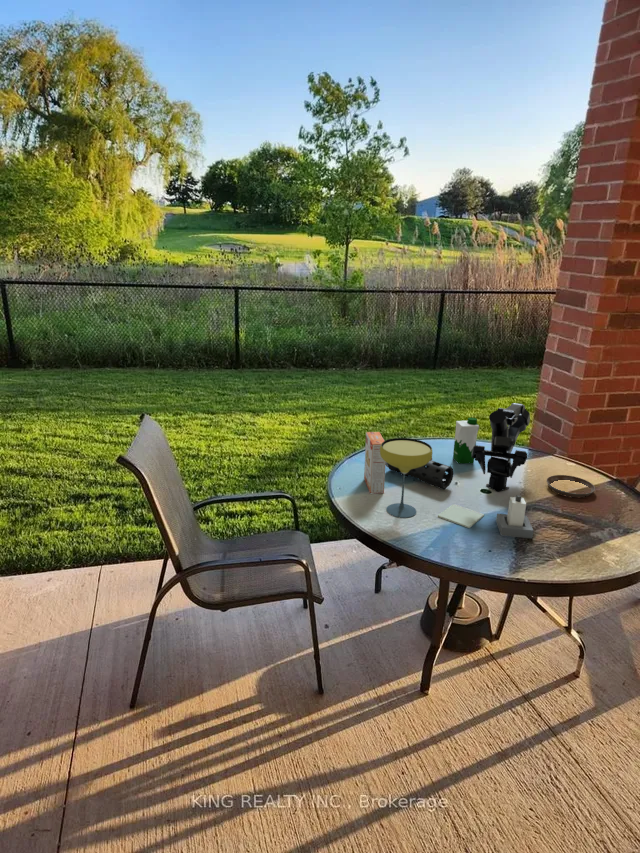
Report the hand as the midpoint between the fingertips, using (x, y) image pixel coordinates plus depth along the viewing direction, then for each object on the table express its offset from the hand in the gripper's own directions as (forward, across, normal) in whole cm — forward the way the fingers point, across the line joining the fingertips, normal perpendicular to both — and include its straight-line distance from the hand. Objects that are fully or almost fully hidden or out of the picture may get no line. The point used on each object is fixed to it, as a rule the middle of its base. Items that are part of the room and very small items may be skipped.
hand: (497, 475), depth 186 cm
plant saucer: (-12, +32, +28) cm, 44 cm away
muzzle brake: (-5, -28, +25) cm, 38 cm away
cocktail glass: (+17, -32, +5) cm, 37 cm away
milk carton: (-26, -10, +42) cm, 50 cm away
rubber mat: (+15, -11, +6) cm, 20 cm away
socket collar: (+18, +6, +2) cm, 20 cm away
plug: (+18, +6, +2) cm, 20 cm away
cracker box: (+4, -45, +17) cm, 48 cm away
